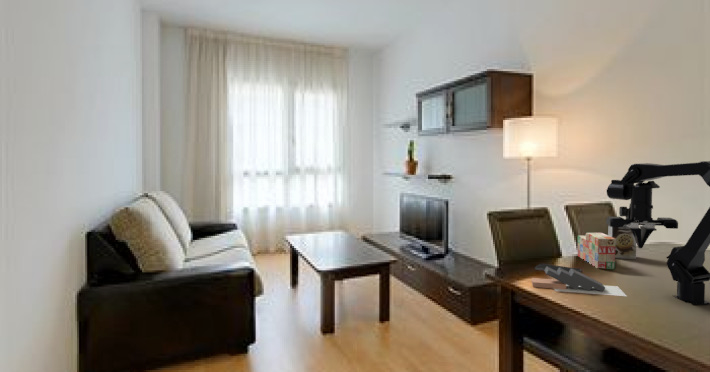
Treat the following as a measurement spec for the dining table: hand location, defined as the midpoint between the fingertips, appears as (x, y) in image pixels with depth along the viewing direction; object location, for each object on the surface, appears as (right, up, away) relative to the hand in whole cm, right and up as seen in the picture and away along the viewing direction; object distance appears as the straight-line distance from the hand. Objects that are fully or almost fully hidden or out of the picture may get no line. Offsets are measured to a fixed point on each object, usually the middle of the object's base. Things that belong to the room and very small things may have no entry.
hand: (640, 248), depth 132 cm
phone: (-16, -13, +22) cm, 30 cm away
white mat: (-19, -14, -2) cm, 23 cm away
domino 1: (-22, -12, -1) cm, 25 cm away
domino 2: (-18, -12, -2) cm, 22 cm away
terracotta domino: (-25, -12, 0) cm, 28 cm away
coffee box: (+20, -10, +39) cm, 45 cm away
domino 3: (-15, -12, -3) cm, 20 cm away
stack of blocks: (+5, -11, +32) cm, 35 cm away
